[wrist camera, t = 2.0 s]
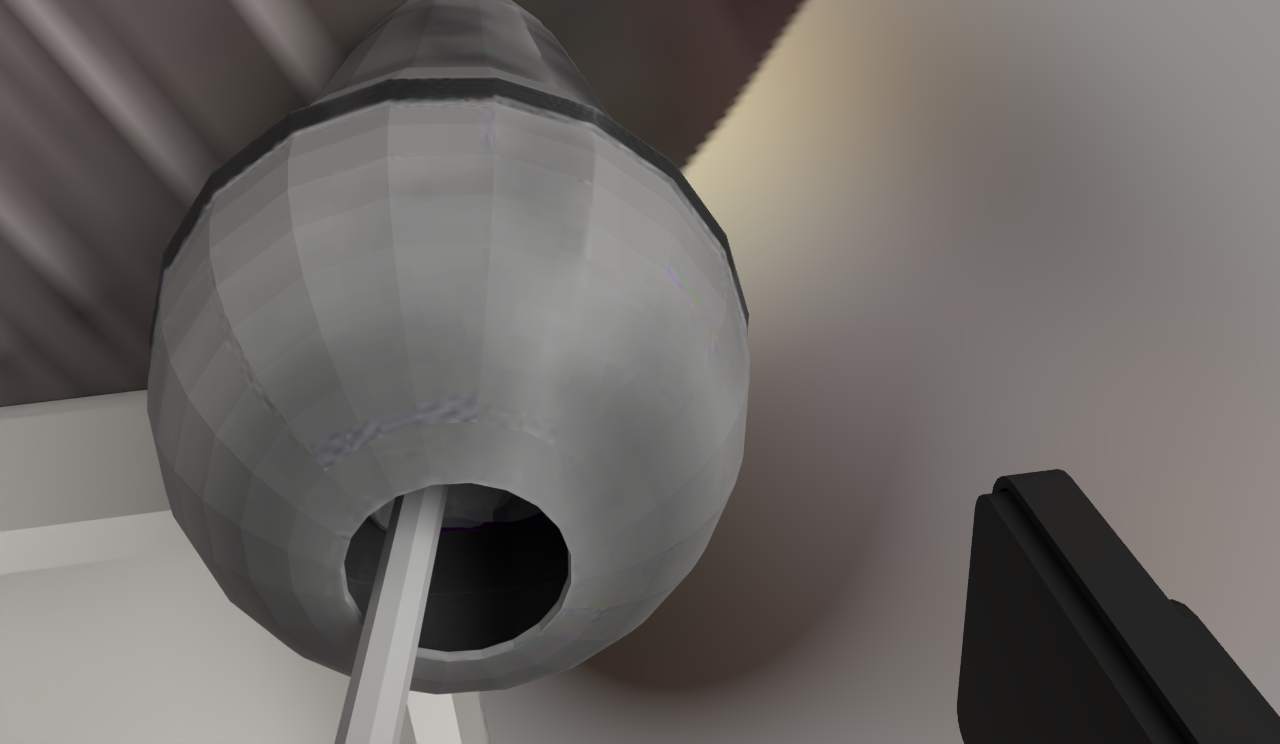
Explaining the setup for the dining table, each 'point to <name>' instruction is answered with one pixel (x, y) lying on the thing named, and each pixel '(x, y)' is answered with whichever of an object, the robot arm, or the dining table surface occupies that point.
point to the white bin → (143, 607)
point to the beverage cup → (448, 368)
